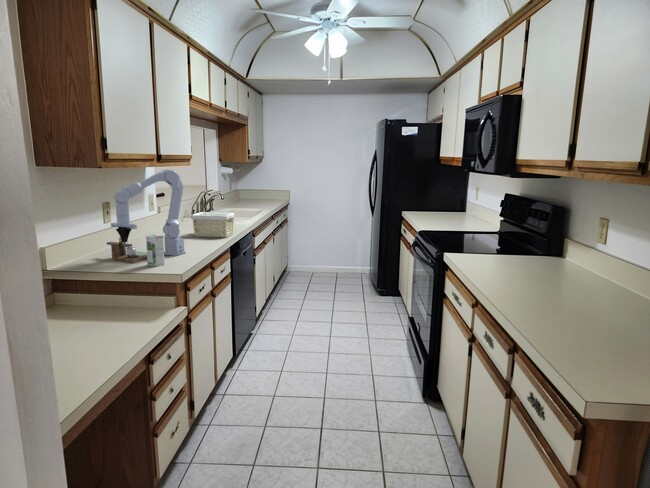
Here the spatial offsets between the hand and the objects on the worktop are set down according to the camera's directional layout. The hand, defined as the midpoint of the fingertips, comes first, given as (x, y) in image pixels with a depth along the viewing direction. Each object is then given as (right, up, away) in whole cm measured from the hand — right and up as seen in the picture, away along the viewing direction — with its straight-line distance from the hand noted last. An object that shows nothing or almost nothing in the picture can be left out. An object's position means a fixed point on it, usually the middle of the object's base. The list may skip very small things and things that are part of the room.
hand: (124, 242), depth 208 cm
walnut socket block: (+1, -8, +1) cm, 9 cm away
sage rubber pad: (+2, -6, +11) cm, 13 cm away
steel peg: (+3, -9, 0) cm, 9 cm away
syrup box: (+19, -11, -8) cm, 23 cm away
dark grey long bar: (-4, -2, +2) cm, 4 cm away
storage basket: (+26, +4, +69) cm, 74 cm away
